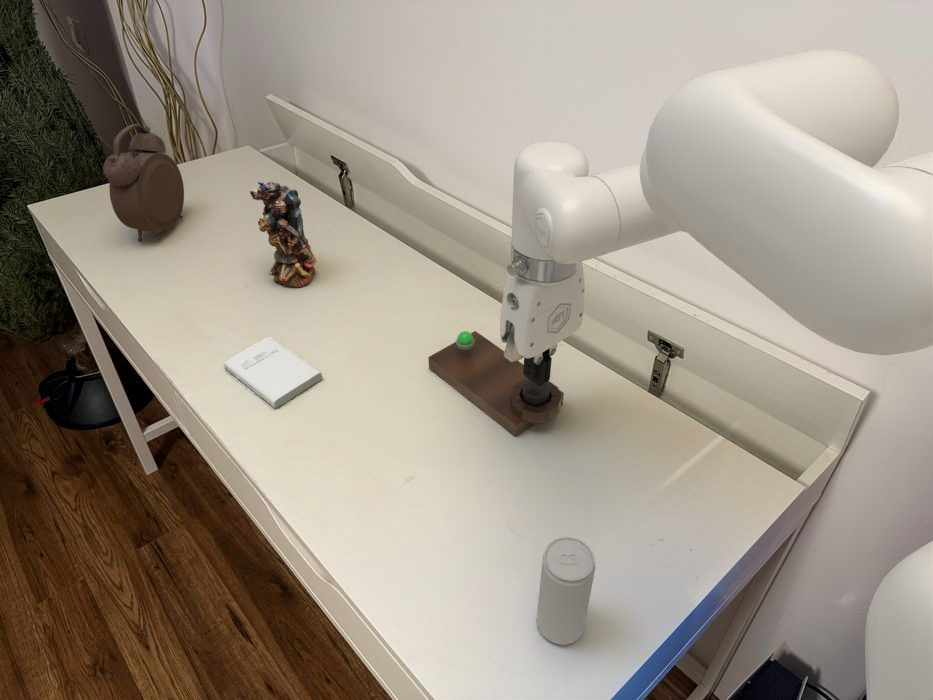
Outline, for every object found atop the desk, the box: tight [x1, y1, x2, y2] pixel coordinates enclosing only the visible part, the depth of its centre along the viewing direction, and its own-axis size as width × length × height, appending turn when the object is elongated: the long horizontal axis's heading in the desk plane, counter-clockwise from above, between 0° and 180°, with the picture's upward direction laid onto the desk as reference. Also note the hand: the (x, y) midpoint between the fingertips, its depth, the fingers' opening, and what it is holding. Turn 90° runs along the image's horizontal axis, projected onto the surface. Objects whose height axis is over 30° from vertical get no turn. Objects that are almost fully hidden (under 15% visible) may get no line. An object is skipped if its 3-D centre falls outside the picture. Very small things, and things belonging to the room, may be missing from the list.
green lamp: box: [455, 330, 475, 350], centre depth 98 cm, size 3×3×2 cm
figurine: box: [249, 180, 317, 288], centre depth 113 cm, size 11×9×18 cm
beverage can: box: [536, 536, 596, 646], centre depth 67 cm, size 5×5×12 cm
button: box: [522, 380, 550, 407], centre depth 90 cm, size 4×4×2 cm
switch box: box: [427, 330, 565, 438], centre depth 96 cm, size 20×9×4 cm, turn 41°
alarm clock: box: [102, 123, 185, 242], centre depth 126 cm, size 14×7×20 cm, turn 169°
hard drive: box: [223, 336, 323, 409], centre depth 100 cm, size 2×8×12 cm
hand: (536, 377), depth 89 cm, fingers closed
